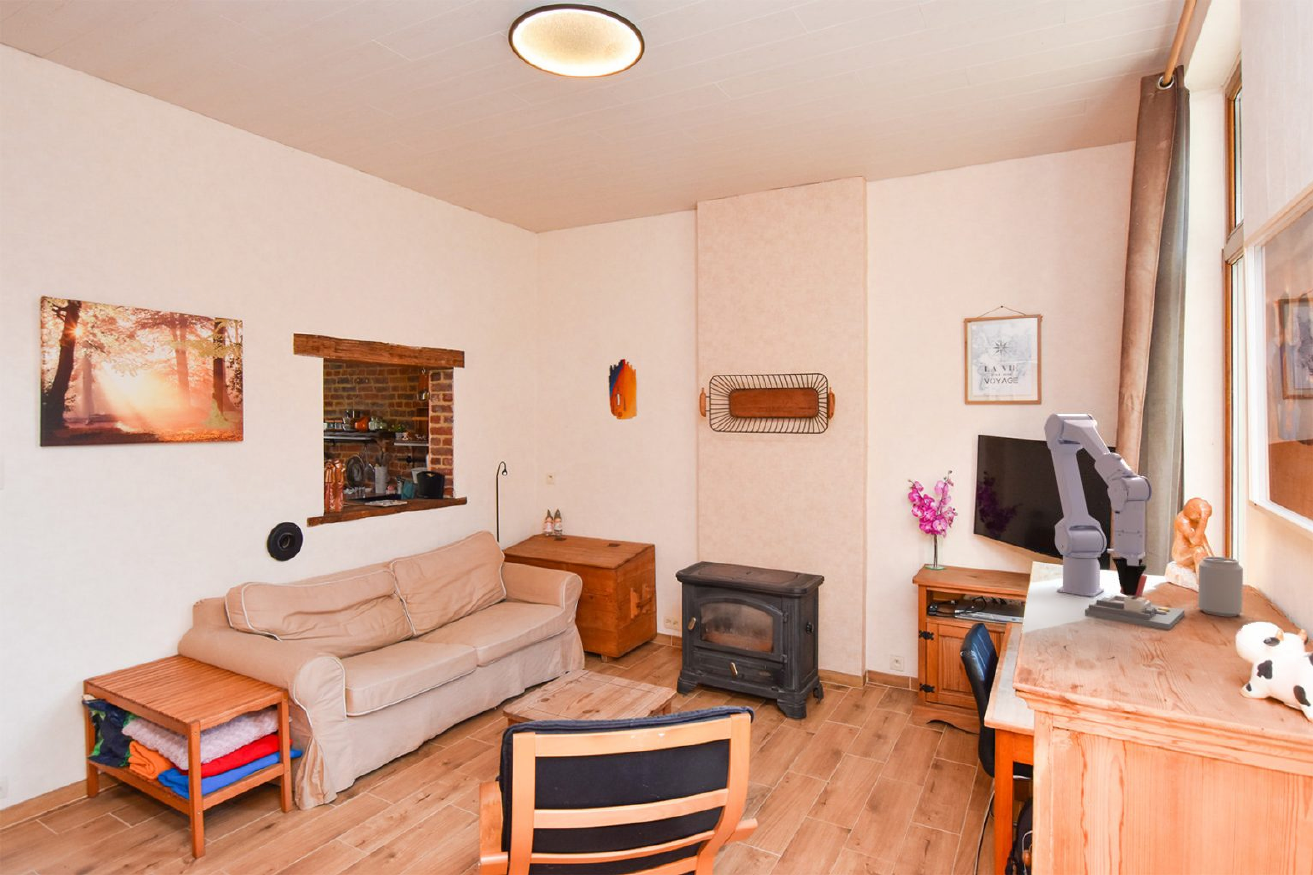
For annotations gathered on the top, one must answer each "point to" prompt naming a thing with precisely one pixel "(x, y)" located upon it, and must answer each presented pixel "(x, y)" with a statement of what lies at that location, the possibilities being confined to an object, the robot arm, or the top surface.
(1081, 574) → the robot arm
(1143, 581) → the red rounded cube
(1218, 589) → the can
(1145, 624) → the panel
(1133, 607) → the breaker
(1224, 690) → the top surface
